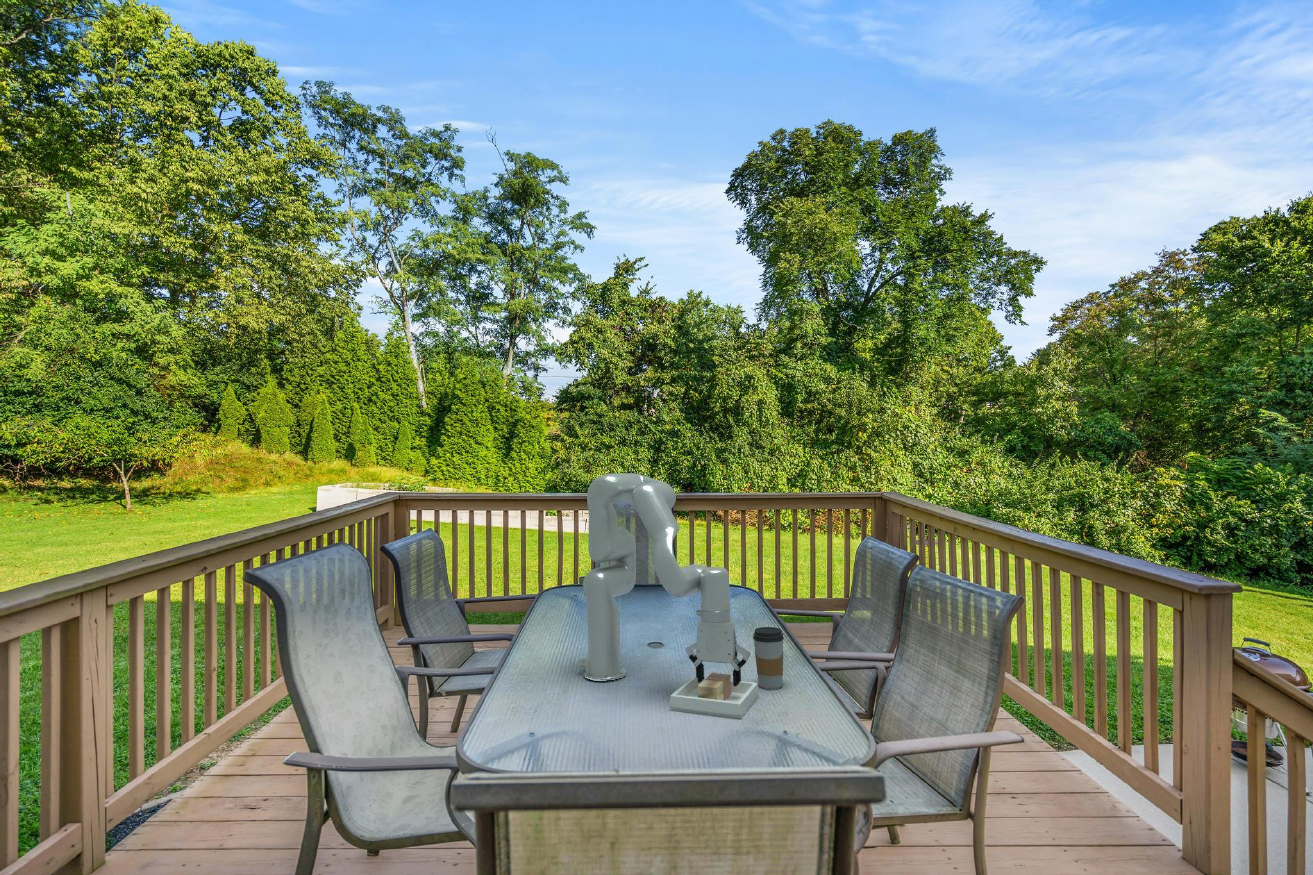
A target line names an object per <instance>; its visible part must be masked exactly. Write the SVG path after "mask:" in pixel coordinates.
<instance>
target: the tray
mask: <svg viewBox="0 0 1313 875" xmlns="http://www.w3.org/2000/svg"><path fill="white" fill-rule="evenodd" d="M706 678H707V676H706V677H705V676H704V680H706ZM704 680H703V681H704ZM701 682H702V681H701ZM701 682H700V683H701ZM700 683H699V682H698V678H696V675H695V676H693V675H692V677H691V678H689V679H688V680H687V681H686V682H685V683H683V685H681V686H680V687H679V688H678V689H677V690H676V691H673V693H672V694H670V699H669V700H670V711H675V712H682V713H687V714H688V713H690V714H696V715H697V714H698V715H704V716H705V715H706V716H713V717H721V718H729V719H734V720H736V719H737V720H742V719H743V717H745V715H746V713H747V712H748V711H749V710H750V708H751V707H752V706H753V705H754V703H755V702H756V701H757V699H758V698H759V682H753V681H743V680H741V682H739V684H738V685H737V686H736V687H735V686H733V679H731V695H730V696H729V697H728V698H727V699H726V700H724V701H723V700H714V699H706V698H698V685H699V684H700Z"/></svg>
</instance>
